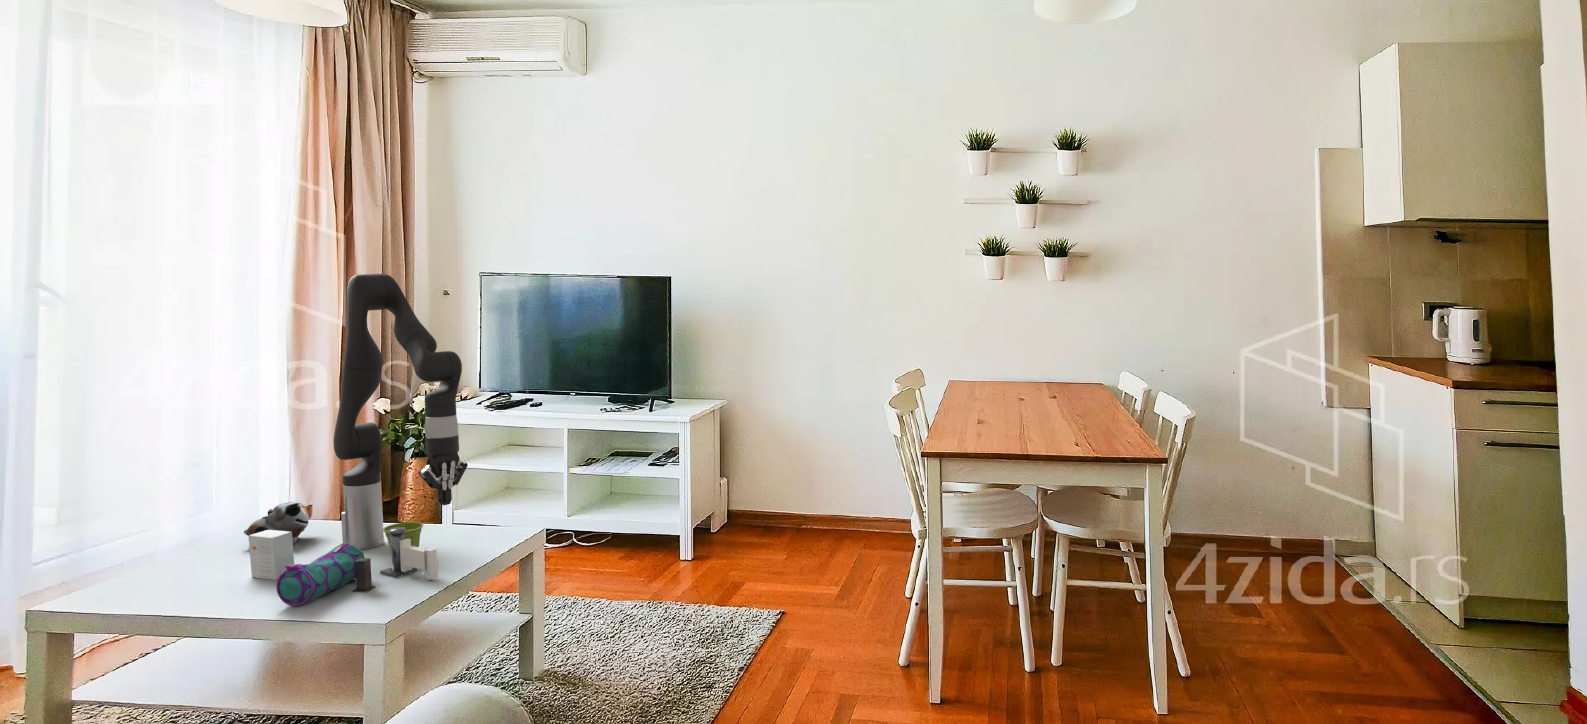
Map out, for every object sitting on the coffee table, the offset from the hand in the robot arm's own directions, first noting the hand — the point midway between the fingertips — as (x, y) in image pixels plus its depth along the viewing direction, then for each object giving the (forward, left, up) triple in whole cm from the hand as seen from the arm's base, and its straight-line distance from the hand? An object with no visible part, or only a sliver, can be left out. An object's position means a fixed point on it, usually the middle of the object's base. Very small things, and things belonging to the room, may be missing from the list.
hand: (445, 504), depth 220 cm
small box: (-42, -6, -17) cm, 45 cm away
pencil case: (-22, -17, -17) cm, 32 cm away
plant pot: (-16, +8, -17) cm, 25 cm away
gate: (-5, -5, -16) cm, 18 cm away
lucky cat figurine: (-59, +22, -17) cm, 65 cm away
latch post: (-13, -14, -17) cm, 26 cm away
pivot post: (-12, -2, -17) cm, 21 cm away
